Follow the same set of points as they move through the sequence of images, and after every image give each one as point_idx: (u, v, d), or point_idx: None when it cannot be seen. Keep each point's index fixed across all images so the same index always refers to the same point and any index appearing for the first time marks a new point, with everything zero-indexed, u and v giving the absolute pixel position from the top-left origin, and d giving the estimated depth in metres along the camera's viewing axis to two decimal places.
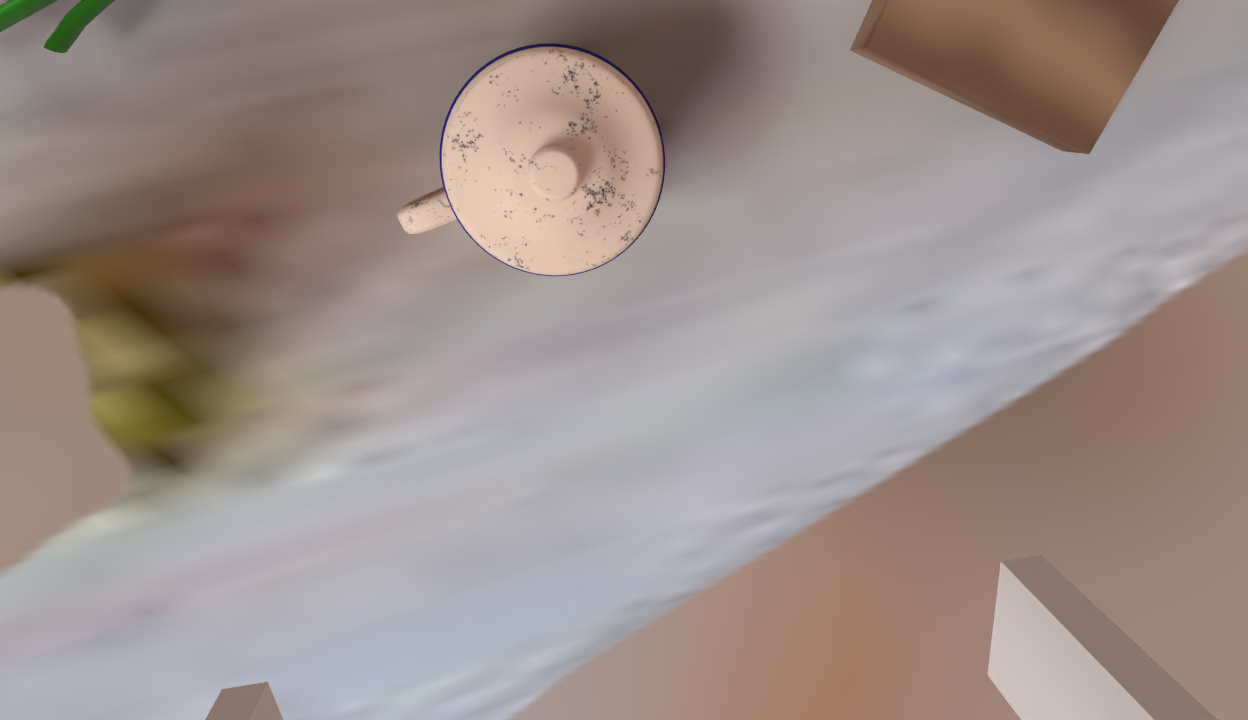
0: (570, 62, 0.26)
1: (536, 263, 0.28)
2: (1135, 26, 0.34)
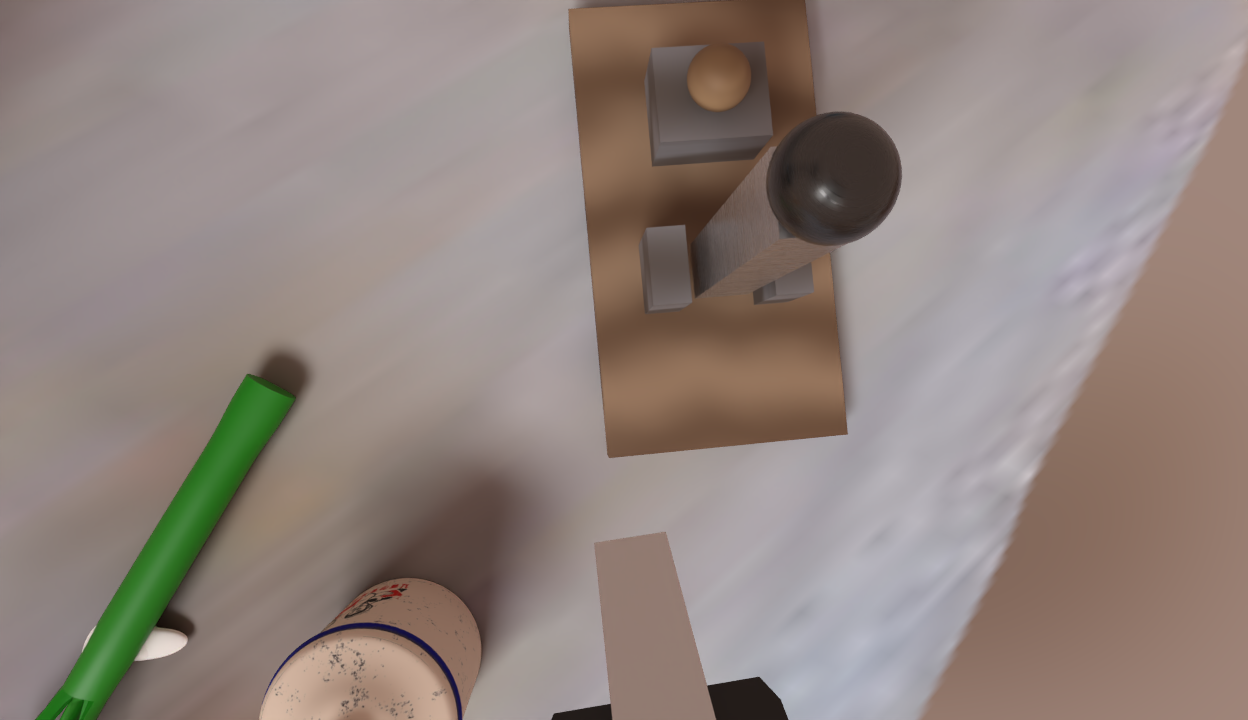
0: (332, 648, 0.30)
1: None
2: (814, 333, 0.40)
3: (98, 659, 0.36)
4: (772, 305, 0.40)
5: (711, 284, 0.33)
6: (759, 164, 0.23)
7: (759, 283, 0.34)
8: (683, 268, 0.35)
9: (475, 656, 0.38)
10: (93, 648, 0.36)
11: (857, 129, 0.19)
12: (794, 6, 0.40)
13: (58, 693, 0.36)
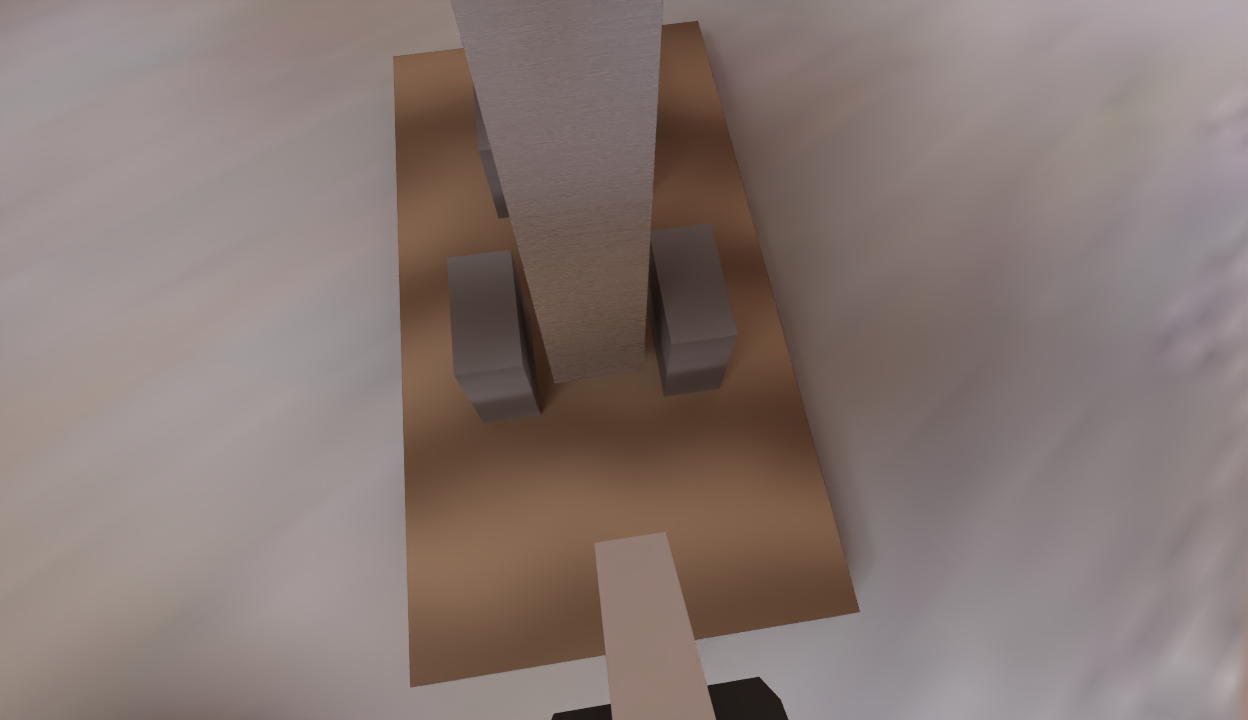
0: None
1: None
2: (770, 435, 0.24)
3: None
4: (694, 396, 0.24)
5: (537, 315, 0.18)
6: None
7: (626, 311, 0.19)
8: (507, 313, 0.20)
9: None
10: None
11: None
12: (686, 31, 0.31)
13: None
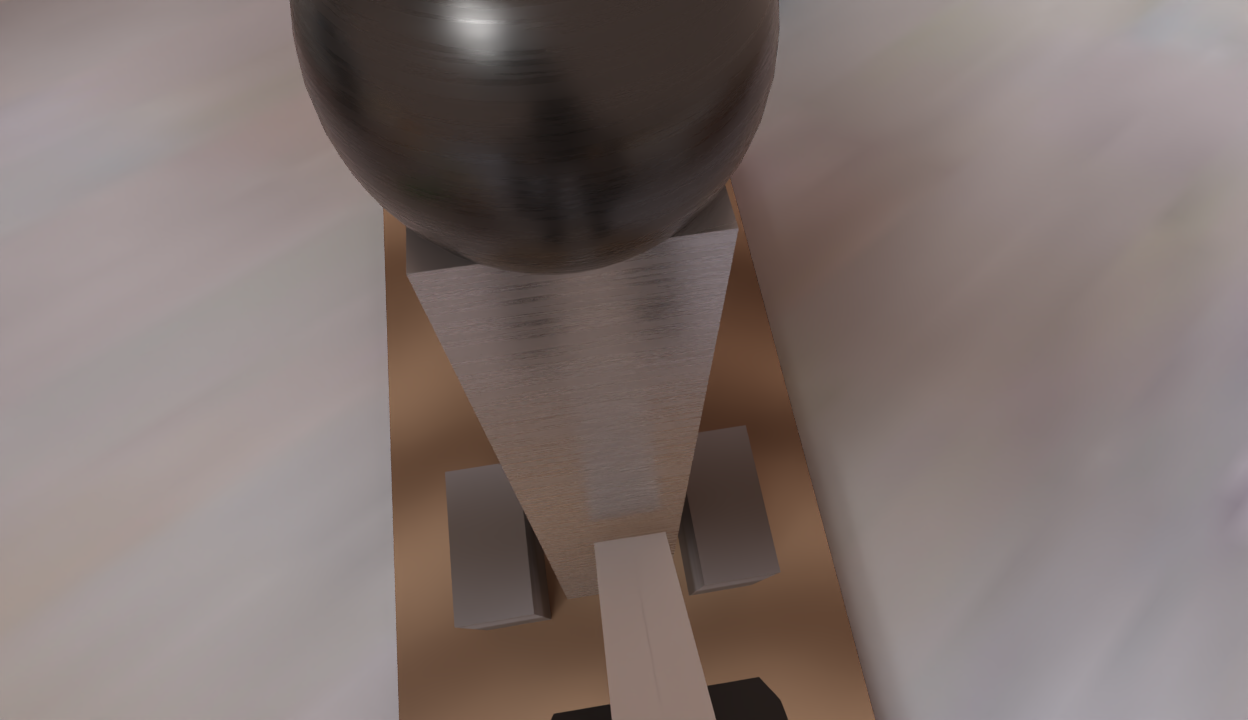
0: None
1: None
2: (808, 643, 0.21)
3: None
4: (723, 594, 0.22)
5: None
6: None
7: None
8: (515, 544, 0.18)
9: None
10: None
11: None
12: None
13: None
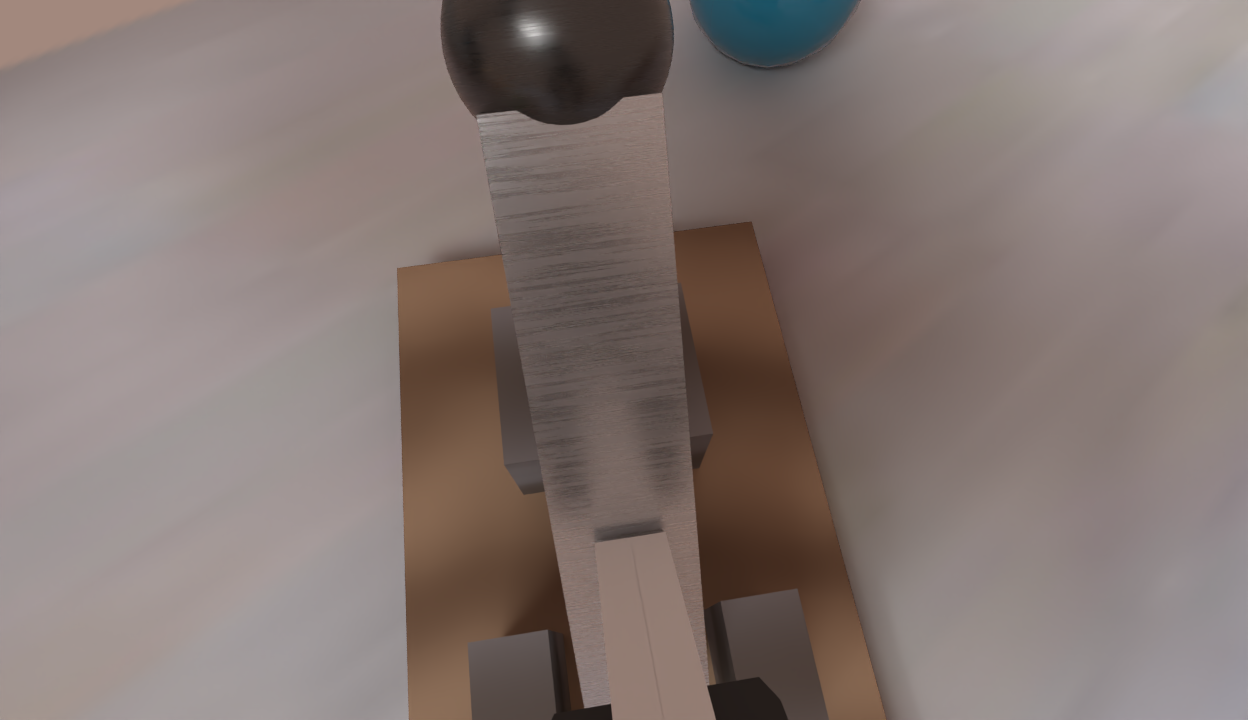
0: None
1: None
2: None
3: None
4: None
5: (572, 640, 0.15)
6: None
7: None
8: None
9: None
10: None
11: None
12: (738, 235, 0.27)
13: None
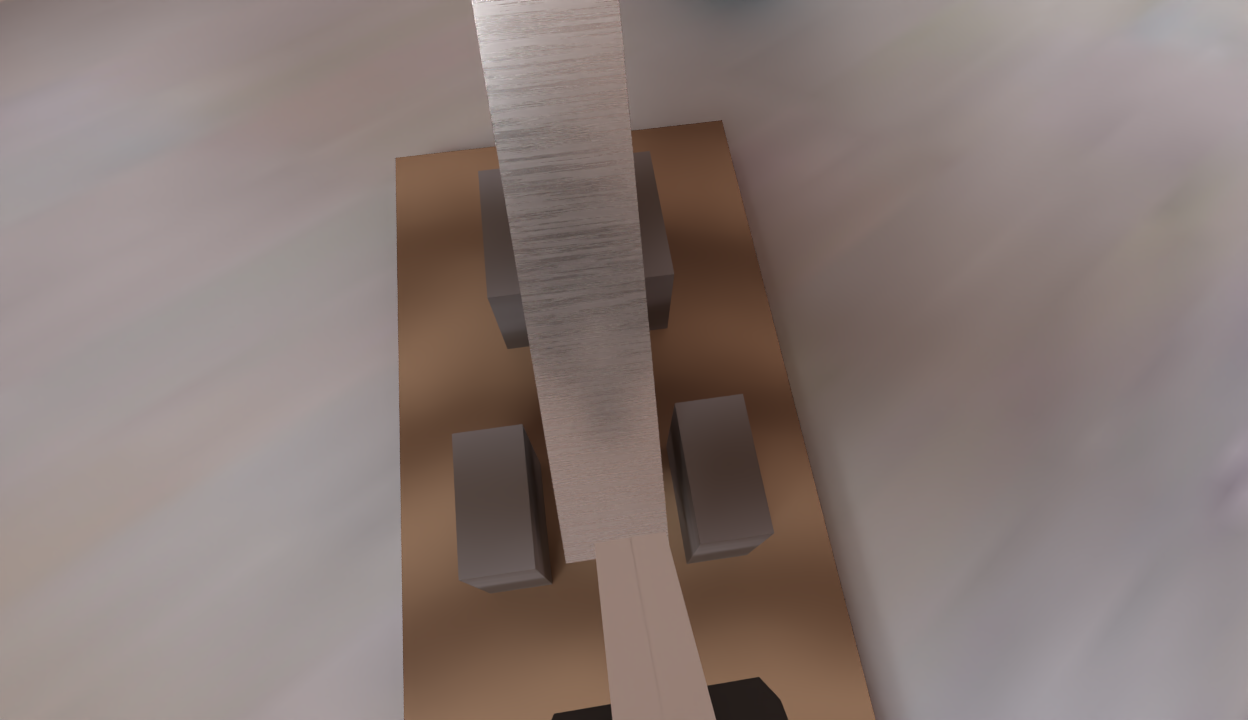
0: None
1: None
2: (802, 611, 0.22)
3: None
4: (720, 563, 0.22)
5: (541, 414, 0.18)
6: None
7: (635, 411, 0.18)
8: (518, 503, 0.18)
9: None
10: None
11: None
12: (709, 132, 0.29)
13: None
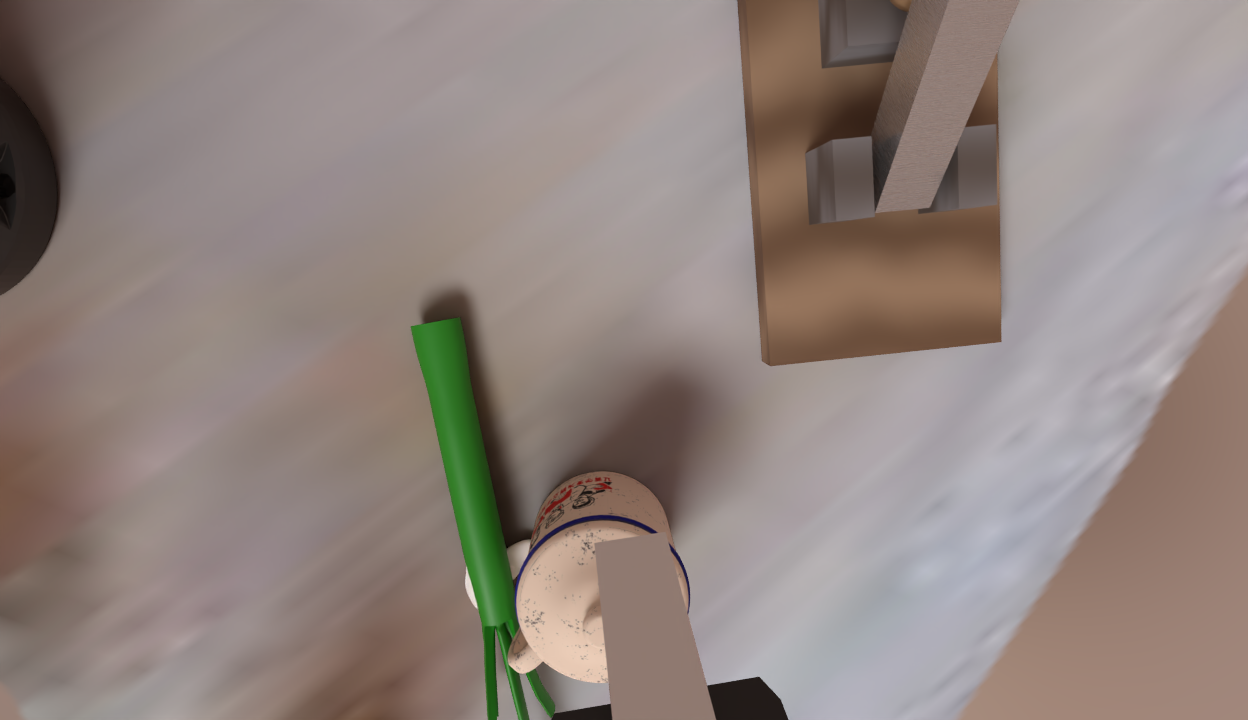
0: (582, 536, 0.34)
1: None
2: (976, 242, 0.40)
3: (491, 590, 0.41)
4: (936, 214, 0.39)
5: (900, 136, 0.33)
6: None
7: (949, 137, 0.33)
8: (867, 182, 0.35)
9: None
10: (480, 586, 0.41)
11: None
12: None
13: (484, 631, 0.41)
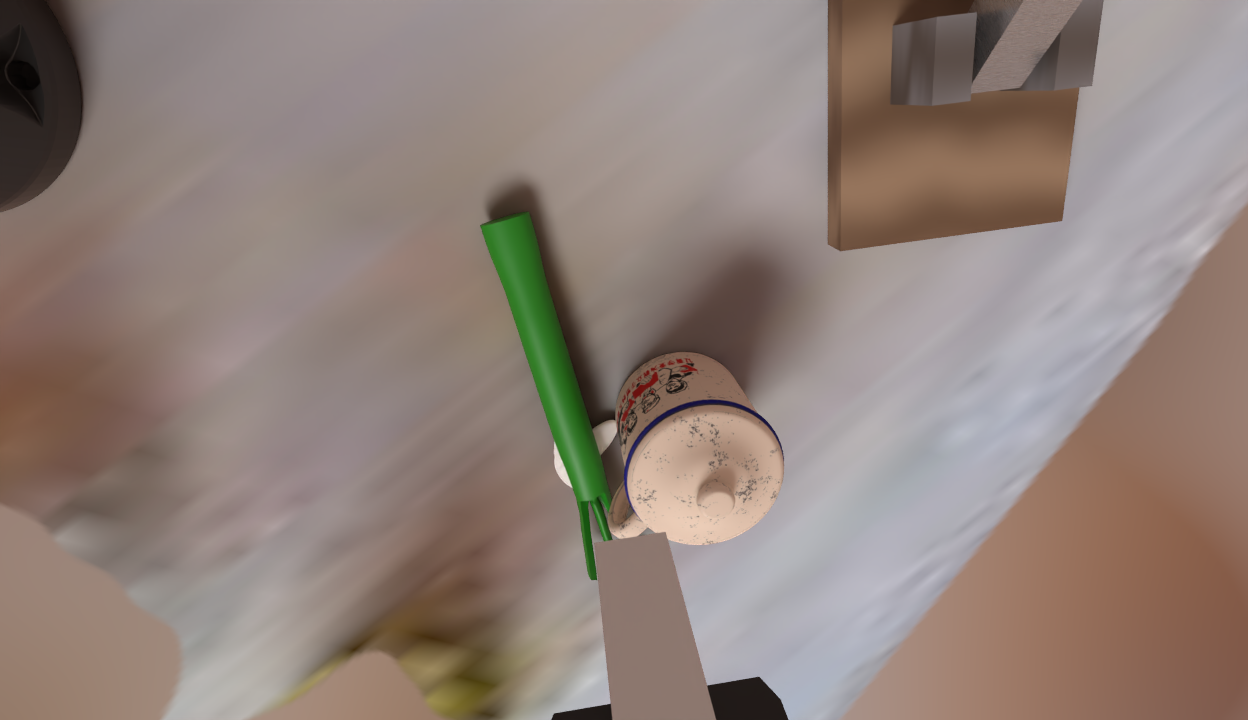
0: (690, 421, 0.36)
1: (722, 538, 0.39)
2: (1052, 119, 0.39)
3: (584, 470, 0.43)
4: (1017, 91, 0.39)
5: (1012, 15, 0.31)
6: None
7: (1060, 15, 0.32)
8: (967, 63, 0.33)
9: None
10: (574, 467, 0.43)
11: None
12: None
13: (580, 505, 0.45)
